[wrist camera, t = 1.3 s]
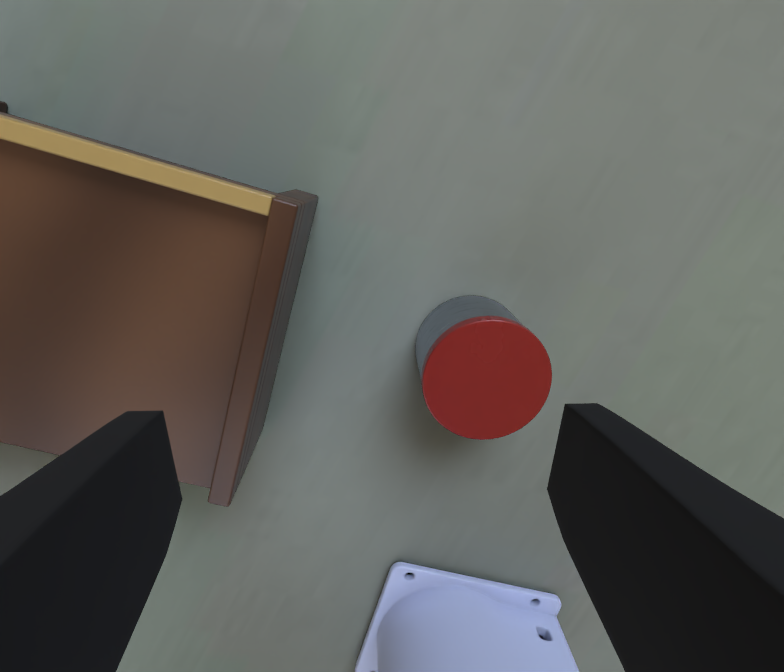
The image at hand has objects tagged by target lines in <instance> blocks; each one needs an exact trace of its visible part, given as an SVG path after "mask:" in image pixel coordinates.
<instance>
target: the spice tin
mask: <svg viewBox="0 0 784 672" xmlns="http://www.w3.org/2000/svg"><path fill="white" fill-rule="evenodd" d="M415 353H416V359H417V364H418V368H419V373H420V377H421V385H422V391H423V396H424V399H425V402H426V405H427V407H428V409H429V411H430V412H431V414H432V415H433V417H434V418H435V419H436V420H437V421H438V422H439V423H440V424H441V425H442V426H443V427H444V428H446V429H448V430H449V431H451V432H453V433H455V434H457V435H459V436H463V437H466V438H471V439H480V440H484V439H494V438H499V437H503V436H506V435H509V434H511V433H513V432H515V431H517V430H519V429H521V428H522V427H523V426H525V425H526V424H528V423H529V422H530V421H531V420H532V419H533V418H534V417H535V416H536V415H537V414H538V412H539V411H540V410H541V408H542V407H543V405H544V403H545V401H546V399H547V397H548V394H549V391H550V386H551V380H552V370H551V363H550V359H549V356H548V354H547V351H546V350H545V348H544V346H543V345H542V343H541V342H540V341H539V339H538V338H537V337H536V336H535V335H534V334H533V333H532V332H531V331H530V330H529V329H527V328H526V327H524V326H523V325H522V324H521V323H520V322H519V321H518V320H517V319H516V318H515V317H514V316H513V315H512V314H511V313H510V312H509V311H508V310H507V309H506V308H505V307H504V306H503V305H501V304H500V303H498V302H496V301H494V300H492V299H489V298H486V297H481V296H462V297H457V298H454V299H451V300H449V301H446V302H444V303H443V304H441V305H439V306H438V307H437V308H435V309H434V310H433V311H432V312H431V313H430V314H429V315H428V316H427V318H426V319H425V320H424V322H423V323H422V325H421V327H420V329H419V332H418V335H417V339H416V345H415Z"/></svg>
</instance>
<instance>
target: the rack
mask: <svg viewBox="0 0 784 672" xmlns="http://www.w3.org/2000/svg"><path fill="white" fill-rule="evenodd" d="M317 201H318V196H317V195H313V194H310V193H307V192H303V191H300V190H292V191H287V192H282V193H278V194H277V193H273V192H270V191H267V190H263V189H260V188H257V187H253V186H250V185H246V184H243V183H240V182H236V181H233V180H230V179H226V178H223V177H219V176H216V175H213V174H209V173H206V172H202V171H199V170H196V169H192V168H189V167H186V166H182V165H179V164H175V163H172V162H169V161H165V160H162V159H159V158H155V157H152V156H148V155H145V154H142V153H138V152H135V151H132V150H128V149H125V148H121V147H118V146H115V145H111V144H108V143H104V142H101V141H98V140H94V139H91V138H88V137H84V136H81V135H77V134H74V133H71V132H67V131H64V130H61V129H57V128H54V127H50V126H47V125H44V124H40V123H37V122H33V121H30V120H27V119H23V118H20V117H17V116H13V115H10V114H7V104H6V103H5V102H2V101H0V442H2V443H7V444H11V445H16V446H20V447H25V448H30V449H34V450H39V451H43V452H48V453H52V454H57V455H62V454H63V453H65V452H66V451H68V450H69V449H71V448H72V447H73V446H75V445H76V444H78V443H79V442H81V441H82V440H84V439H85V438H86V437H88V436H89V435H91V434H92V433H94V432H95V431H97V430H98V429H100V428H101V427H103V426H104V425H106V424H107V423H109V422H110V421H112V420H113V419H115V418H116V417H118V416H120V415H121V414H123V413H125V412H127V411H161V410H163V412H164V417H165V422H166V426H167V431H168V436H169V440H170V445H171V450H172V454H173V459H174V463H175V468H176V473H177V477H178V481H179V482H184V483H188V484H193V485H198V486H202V487H207V488H210V492H209V496H208V502H209V503H212V504H217V505H221V506H226V507H228V506H229V505H230V504H231V501H232V499H233V497H234V494H235V492H236V490H237V487H238V485H239V483H240V480H241V478H242V476H243V473H244V471H245V469H246V467H247V464H248V462H249V460H250V457H251V455H252V453H253V450H254V448H255V446H256V443H257V441H258V439H259V436H260V434H261V432H262V429H263V426H264V422H265V418H266V413H267V409H268V405H269V401H270V397H271V393H272V388H273V384H274V380H275V376H276V372H277V368H278V364H279V359H280V355H281V351H282V347H283V343H284V339H285V334H286V330H287V326H288V322H289V318H290V314H291V309H292V305H293V301H294V297H295V293H296V289H297V285H298V280H299V276H300V272H301V268H302V264H303V260H304V255H305V251H306V247H307V243H308V239H309V235H310V230H311V226H312V222H313V218H314V214H315V210H316V206H317Z"/></svg>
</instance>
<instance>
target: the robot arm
mask: <svg viewBox="0 0 784 672" xmlns="http://www.w3.org/2000/svg"><path fill="white" fill-rule="evenodd" d="M547 490H548V493H549V497H550V500H551V503H552V506H553V510H554V513H555V516H556V519H557V522H558V525H559V528H560V531H561V534H562V537H563V540H564V542H565V544H566V547H567V549H568V551H569V553H570V555H571V558H572V560H573V562H574V564H575V566H576V568H577V570H578V573H579V575H580V577H581V579H582V581H583V583H584V585H585V588H586V590H587V592H588V594H589V596H590V598H591V600H592V602H593V604H594V606H595V609H596V611H597V613H598V615H599V617H600V619H601V621H602V623H603V625H604V628H605V630H606V632H607V634H608V636H609V638H610V640H611V642H612V644H613V646H614V649H615V651H616V653H617V655H618V657H619V659H620V661H621V663H622V665H623V668H624V670H625V672H784V519H783V518H782V517H780V516H778V515H777V514H775V513H773V512H771V511H770V510H768V509H766V508H765V507H763V506H761V505H759V504H758V503H756V502H754V501H753V500H751V499H749V498H747V497H746V496H744V495H742V494H741V493H739V492H737V491H736V490H734V489H732V488H731V487H729V486H728V485H726V484H724V483H723V482H721V481H719V480H718V479H716V478H715V477H713V476H711V475H710V474H708V473H707V472H705V471H703V470H702V469H700V468H699V467H697V466H696V465H694V464H692V463H691V462H689V461H688V460H686V459H685V458H683V457H682V456H680V455H679V454H677V453H675V452H674V451H672V450H671V449H669V448H668V447H666V446H665V445H663V444H662V443H660V442H659V441H657V440H656V439H654V438H652V437H651V436H649V435H648V434H646V433H645V432H643V431H642V430H640V429H639V428H637V427H636V426H634V425H632V424H631V423H629V422H628V421H626V420H625V419H623V418H622V417H620V416H618V415H617V414H615V413H613V412H612V411H610V410H608V409H607V408H605V407H603V406H601V405H599V404H597V403H590V404H565V406H564V411H563V416H562V421H561V425H560V430H559V435H558V440H557V445H556V449H555V454H554V459H553V464H552V468H551V473H550V478H549V483H548V487H547ZM181 502H182V496H181V491H180V487H179V482H178V477H177V473H176V468H175V463H174V459H173V454H172V450H171V445H170V440H169V436H168V431H167V426H166V422H165V417H164V412H163V410H161V411H127V412H125V413H123V414H121V415H120V416H118V417H116V418H115V419H113V420H112V421H110V422H109V423H107V424H106V425H104V426H103V427H101V428H100V429H98V430H97V431H95V432H94V433H92V434H91V435H89V436H88V437H86V438H85V439H84V440H82V441H81V442H79V443H78V444H76V445H75V446H73V447H72V448H71V449H69V450H68V451H66V452H65V453H63V454H62V455H60V456H59V457H57V458H56V459H55V460H53V461H52V462H50V463H49V464H47V465H46V466H44V467H43V468H41V469H40V470H38V471H37V472H36V473H34V474H33V475H31V476H30V477H28V478H27V479H25V480H24V481H22V482H21V483H19V484H18V485H17V486H15V487H14V488H12V489H11V490H9V491H8V492H6V493H4V494H3V495H1V496H0V672H116V670H117V668H118V665H119V663H120V661H121V659H122V656H123V654H124V652H125V649H126V647H127V645H128V642H129V640H130V638H131V636H132V633H133V631H134V629H135V626H136V624H137V622H138V619H139V617H140V615H141V613H142V610H143V608H144V606H145V603H146V601H147V599H148V596H149V594H150V592H151V589H152V587H153V585H154V582H155V580H156V578H157V575H158V573H159V571H160V568H161V566H162V563H163V561H164V559H165V556H166V554H167V550H168V547H169V544H170V541H171V537H172V534H173V531H174V527H175V524H176V520H177V516H178V513H179V509H180V505H181ZM406 573H412V574H411V575H407V574H406ZM533 599H536V600H534V601H532V600H533ZM560 608H561V601H560V599H559V597H558V596H557V595H555V594H551V593H546V592H541V591H537V590H532V589H527V588H523V587H518V586H513V585H508V584H504V583H499V582H494V581H490V580H485V579H480V578H476V577H471V576H466V575H461V574H457V573H452V572H447V571H443V570H438V569H433V568H428V567H424V566H419V565H414V564H410V563H405V562H396V563H394V564H393V565H392V566H391V568H390V570H389V573H388V576H387V579H386V582H385V584H384V587H383V590H382V593H381V595H380V598H379V601H378V604H377V607H376V609H375V612H374V615H373V618H372V620H371V623H370V626H369V629H368V632H367V634H366V637H365V640H364V643H363V645H362V648H361V651H360V654H359V657H358V659H357V662H356V665H355V672H579V670H578V667H577V665H576V663H575V660H574V658H573V655H572V653H571V650H570V648H569V646H568V643H567V641H566V638H565V636H564V634H563V631H562V629H561V626H560V624H559V621H558V619H557V617H556V616H557V614H558V612H559V610H560Z"/></svg>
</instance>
